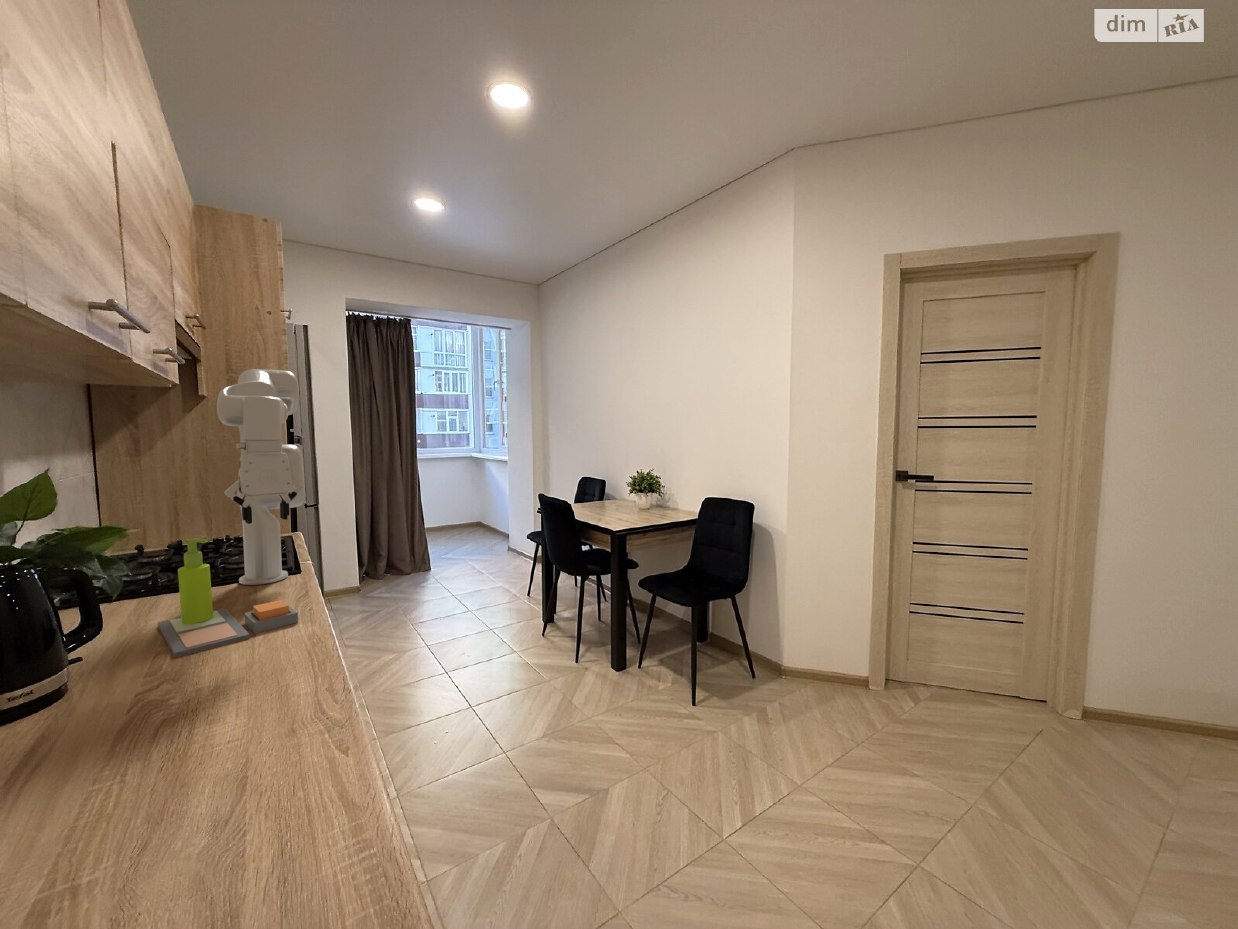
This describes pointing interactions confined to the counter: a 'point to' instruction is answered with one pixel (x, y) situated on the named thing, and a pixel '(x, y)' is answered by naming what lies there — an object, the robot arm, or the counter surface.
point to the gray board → (202, 633)
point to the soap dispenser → (195, 585)
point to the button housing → (270, 621)
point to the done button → (270, 609)
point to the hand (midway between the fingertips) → (266, 520)
